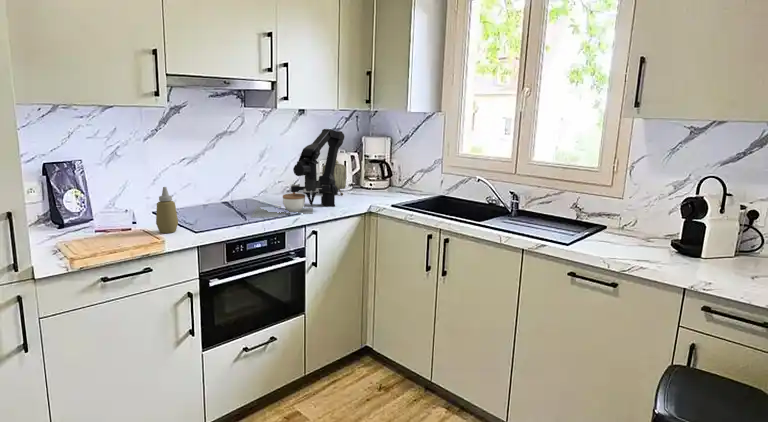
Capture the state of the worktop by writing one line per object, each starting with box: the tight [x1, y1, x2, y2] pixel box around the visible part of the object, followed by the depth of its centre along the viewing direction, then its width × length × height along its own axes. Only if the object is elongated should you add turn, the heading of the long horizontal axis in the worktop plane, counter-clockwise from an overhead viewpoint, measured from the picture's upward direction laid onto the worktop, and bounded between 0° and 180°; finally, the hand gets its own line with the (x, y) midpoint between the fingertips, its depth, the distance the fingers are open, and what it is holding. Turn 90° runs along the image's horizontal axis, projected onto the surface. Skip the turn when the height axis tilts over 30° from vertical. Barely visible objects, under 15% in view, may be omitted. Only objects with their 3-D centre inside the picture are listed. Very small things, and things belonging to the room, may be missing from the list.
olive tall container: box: [321, 159, 347, 196], centre depth 288 cm, size 14×9×25 cm, turn 30°
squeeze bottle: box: [155, 186, 179, 234], centre depth 195 cm, size 8×8×18 cm
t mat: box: [250, 205, 314, 218], centre depth 240 cm, size 28×26×1 cm
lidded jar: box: [282, 192, 306, 212], centre depth 240 cm, size 11×11×9 cm
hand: (311, 205), depth 242 cm, fingers closed
